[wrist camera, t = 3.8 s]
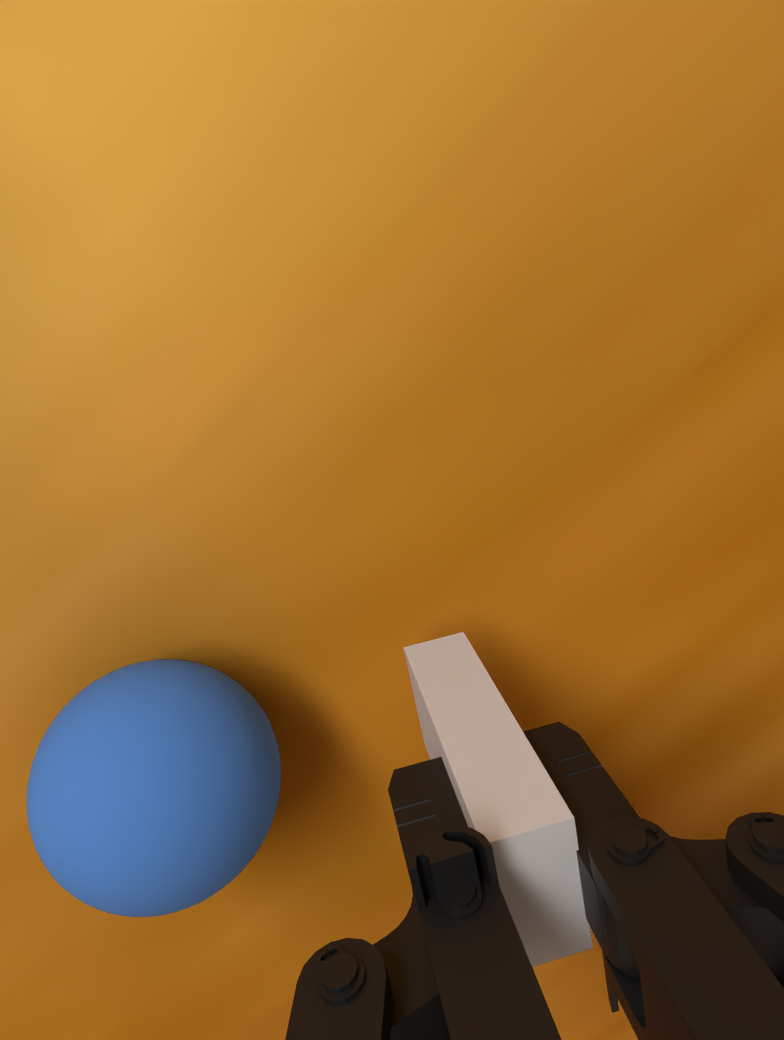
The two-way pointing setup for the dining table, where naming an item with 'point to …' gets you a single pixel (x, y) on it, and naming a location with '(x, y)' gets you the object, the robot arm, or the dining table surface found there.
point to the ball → (153, 788)
